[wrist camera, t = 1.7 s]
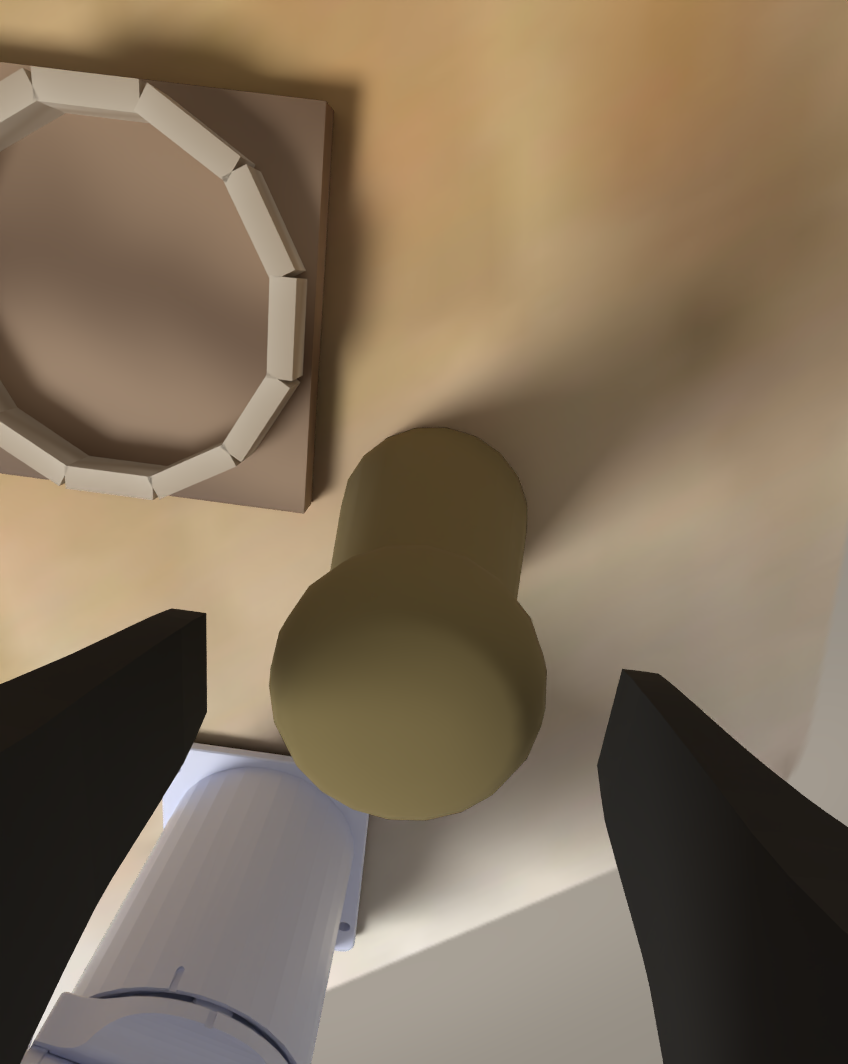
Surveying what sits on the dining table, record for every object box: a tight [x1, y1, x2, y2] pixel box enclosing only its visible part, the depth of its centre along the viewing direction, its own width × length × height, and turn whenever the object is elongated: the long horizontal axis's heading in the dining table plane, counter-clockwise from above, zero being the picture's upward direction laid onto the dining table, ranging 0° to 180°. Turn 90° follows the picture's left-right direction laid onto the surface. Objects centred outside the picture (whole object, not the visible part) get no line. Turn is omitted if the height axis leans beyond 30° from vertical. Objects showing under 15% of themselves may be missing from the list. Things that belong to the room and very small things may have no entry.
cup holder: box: [0, 62, 334, 514], centre depth 18 cm, size 11×11×2 cm
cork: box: [269, 428, 547, 820], centre depth 16 cm, size 6×6×11 cm
